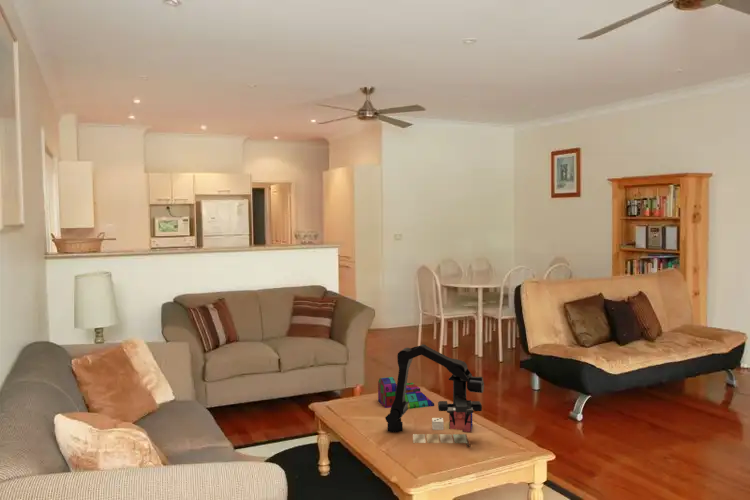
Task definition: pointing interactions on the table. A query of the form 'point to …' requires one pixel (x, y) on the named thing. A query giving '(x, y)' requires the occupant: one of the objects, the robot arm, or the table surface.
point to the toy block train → (412, 394)
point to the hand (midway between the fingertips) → (459, 425)
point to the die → (437, 424)
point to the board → (441, 438)
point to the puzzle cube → (467, 427)
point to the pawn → (459, 421)
